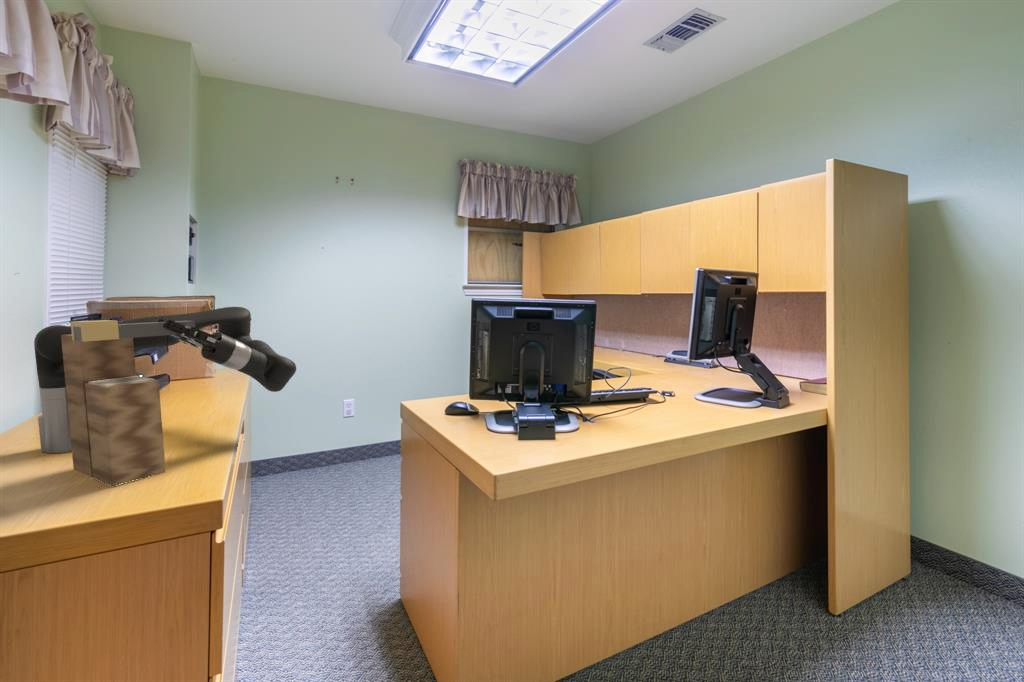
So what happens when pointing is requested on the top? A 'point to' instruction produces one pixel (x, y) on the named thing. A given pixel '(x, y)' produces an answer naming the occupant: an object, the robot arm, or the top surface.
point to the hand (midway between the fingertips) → (161, 322)
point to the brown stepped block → (112, 412)
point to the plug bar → (119, 330)
